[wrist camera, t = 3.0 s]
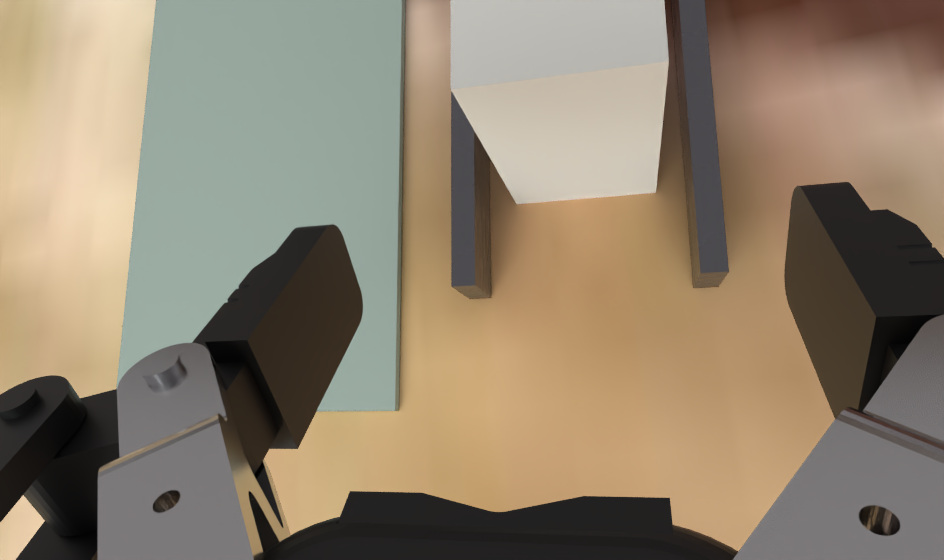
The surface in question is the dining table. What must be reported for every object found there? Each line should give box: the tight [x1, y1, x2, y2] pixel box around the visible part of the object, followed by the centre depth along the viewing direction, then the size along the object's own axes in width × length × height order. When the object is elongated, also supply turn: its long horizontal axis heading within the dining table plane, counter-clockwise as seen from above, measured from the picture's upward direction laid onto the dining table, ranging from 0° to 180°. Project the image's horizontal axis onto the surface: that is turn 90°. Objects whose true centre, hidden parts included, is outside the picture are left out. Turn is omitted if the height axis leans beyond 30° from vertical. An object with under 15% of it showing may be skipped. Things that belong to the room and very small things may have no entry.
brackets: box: [451, 0, 729, 299], centre depth 23 cm, size 9×12×2 cm
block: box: [451, 0, 669, 204], centre depth 20 cm, size 5×5×9 cm
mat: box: [116, 0, 405, 411], centre depth 27 cm, size 12×20×1 cm, turn 1°
